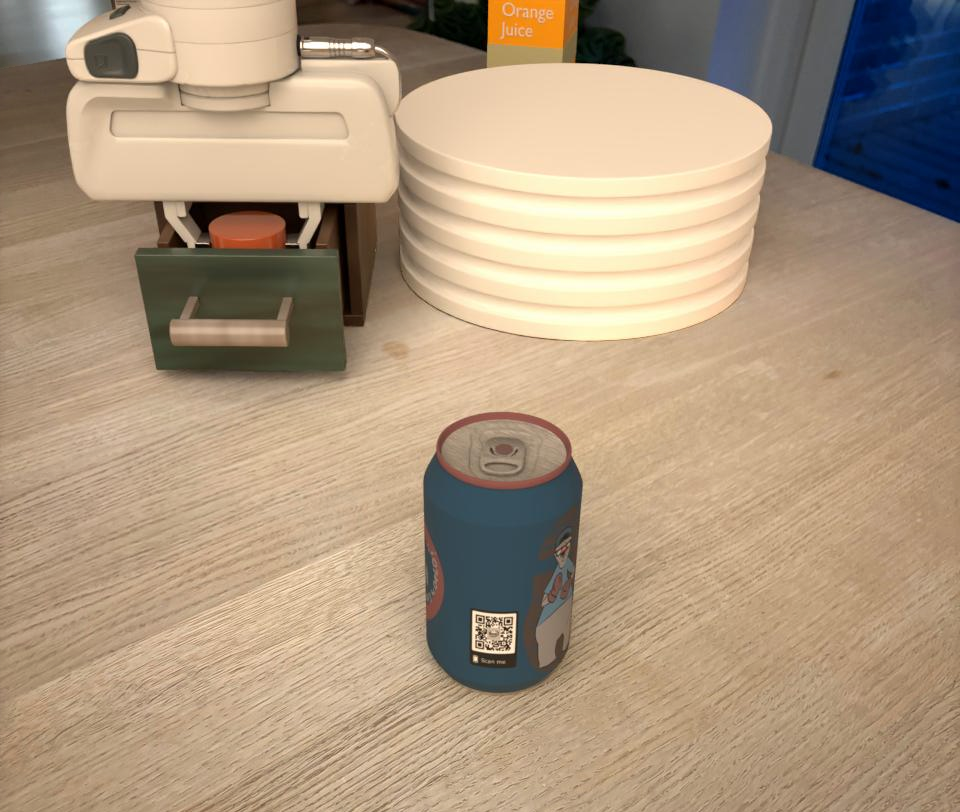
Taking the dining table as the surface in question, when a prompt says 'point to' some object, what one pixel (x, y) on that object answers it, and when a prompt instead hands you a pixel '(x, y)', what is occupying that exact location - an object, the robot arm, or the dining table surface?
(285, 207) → the drawer
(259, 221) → the orange cylinder block
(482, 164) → the plate stack
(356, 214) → the cabinet
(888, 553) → the dining table surface
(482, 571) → the soda can
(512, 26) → the orange juice
